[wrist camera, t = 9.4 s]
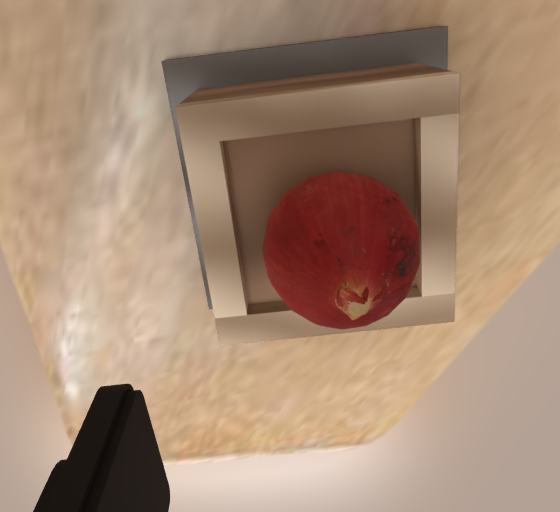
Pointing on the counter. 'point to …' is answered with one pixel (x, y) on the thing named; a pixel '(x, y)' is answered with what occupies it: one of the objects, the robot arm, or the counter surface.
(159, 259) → the counter surface
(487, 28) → the counter surface
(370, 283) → the pomegranate
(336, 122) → the open square box
